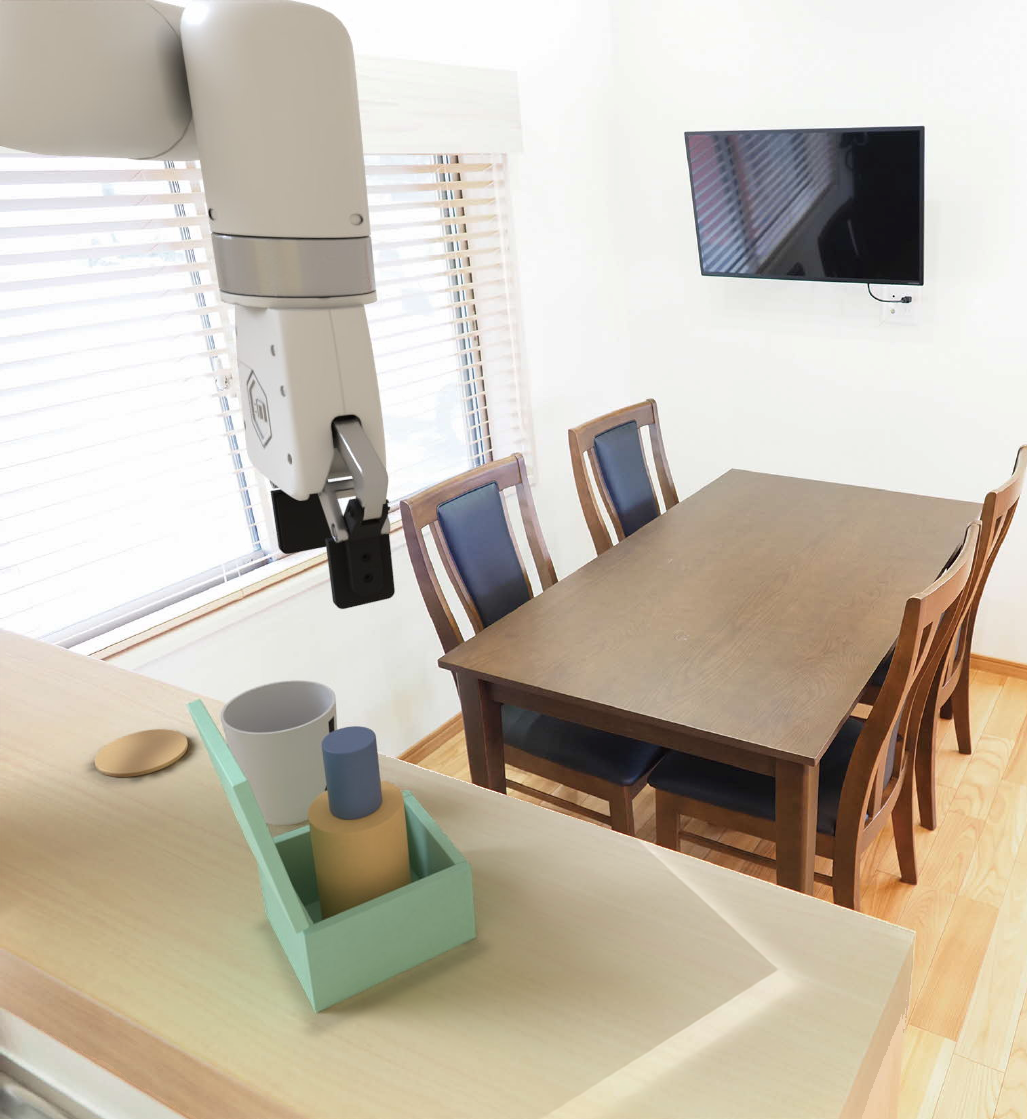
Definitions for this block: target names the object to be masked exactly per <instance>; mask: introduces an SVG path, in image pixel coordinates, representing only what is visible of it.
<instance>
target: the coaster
mask: <svg viewBox="0 0 1027 1119" xmlns="http://www.w3.org/2000/svg"><path fill="white" fill-rule="evenodd" d="M188 748H189V741H188V738H187V737H186V736H185V735H184V734H183V733H182V732H181V731H180V732H179V731H177V730H173V729H167V728H166V729H164V728H161V729H160V728H159V729H158V728H157V729H148V730H142V731H136V732H134V733H129V734H126V735H124V736H121V737H119V738H117V739H115V740H112V741H111V742H109V743H107V744H106V745H105V746H104V747H102V748H101V749H100V750H99V751H98V752H97V754H96V755H95V758H94V765H95V768H96V770H97V771H98V772H99V773H100V774H102V775H105V776H108V777H112V778H113V777H114V778H130V777H139V776H143V775H148V774H151V773H154V772H158V771H160V770H163V769H165V768H167V767H169V766H171V765H173V764H174V763H176V762H177V761H179V760H180V759H181V758H182V757H183V756H184V755H185V754H186V752H187V751H188Z"/></svg>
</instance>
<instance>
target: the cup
mask: <svg viewBox="0 0 1027 1119" xmlns="http://www.w3.org/2000/svg"><path fill="white" fill-rule="evenodd" d="M219 716H220V717H219V718H220V722H221V725H222V729H223V733H224V737H225V742H226V744H227V745H228V747H229V749H230V750H231V752H232V754H233V756H234V757H235V759H236V761H237V762H238V764H239V766H240V768H241V769H242V771H243V773H244V774H245V776H246V778H247V780H248V782H249V784H250V786H251V789H252V791H253V793H254V796H255V798H256V801H257V803H258V805H259V808H260V810H261V812H262V815H263V817H264V820H265V822H266V824H267V825H271V826H272V825H274V826H290V825H291V826H292V825H296V824H300V823H303V822H306V821H308V810H309V807H310V805H311V804H312V802H313V801H314V800H315V799H316V798H317V797H318V796H319V795H320V794H322V793H323V792H325V791H327V785H326V777H325V769H324V762H323V754H322V746H321V744H322V741H323V739H324V738H325V737H326V736H327V735H328V734H329V733H331V732H333V731H335V730H338V717H337V699H336V694H335V691H334V690H333V689H332V688H331V687H329V686H327V685H326V684H323V683H320V682H317V681H312V680H303V679H301V680H300V679H295V680H293V679H291V680H281V681H274V682H270V683H266V684H261V685H259V686H255V687H253V688H250V689H248V690H245V691H243V692H241V693H239V694H238V695H236V696H234V697H233V698H231V699H230V700H229V701H227V703H226V704H225V705H224V706H223V707H222V710H221V711H220V715H219Z"/></svg>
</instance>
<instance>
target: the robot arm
mask: <svg viewBox="0 0 1027 1119" xmlns="http://www.w3.org/2000/svg"><path fill="white" fill-rule="evenodd" d="M353 46H354V45H353V42H352V38H351V36H350V33H349V31H348V29H347V27H346V26H345V25H344V23H343V22H342V21H341V20H340V19H339V18H338V17H337V16H336V15H335V14H334V13H332V12H331V11H328V10H325V9H323V8H321V7H320V6H317V5H314V4H309V3H305V2H302V1H297V0H191V1H190V2H189V3H188V4H186V6H185V7H184V6H179V5H175V4H171V3H167V2H163V1H160V0H0V147H3V148H7V149H11V150H15V151H19V152H25V153H30V154H31V153H32V154H38V155H43V156H55V157H57V156H60V157H87V158H108V159H109V158H111V159H128V160H135V161H154V162H155V161H157V162H192V161H194V162H195V161H199V165H200V170H201V178H202V183H203V191H204V196H205V197H204V198H205V203H206V211H207V216H208V223H209V230H210V232H211V233H210V238H211V245H212V252H213V258H214V264H215V271H216V277H217V283H218V288H219V296H220V297H219V298H220V301H221V302H222V303H225V304H228V305H233V306H234V330H235V332H234V334H235V347H236V348H235V349H236V360H237V370H238V380H239V390H240V400H241V410H242V420H243V431H244V439H245V448H246V453H247V457H248V459H249V461H250V463H251V464H252V466H253V467H254V468H255V469H256V470H257V471H259V473H261V474H262V475H263V476H264V477H265V478H267V480H269V484H270V486H271V488H272V490H270V498H271V505H272V512H273V519H274V526H275V531H276V532H275V533H276V540H277V546H278V549H279V550H280V552H282V553H283V554H285V555H290V554H291V555H292V554H295V553H296V554H297V553H301V552H306V551H312V550H317V549H322V548H326V549H325V550H326V557H327V564H328V572H329V580H330V590H331V597H332V602H333V604H334V605H335V606H336V608H338V609H340V610H345V609H349V608H354V607H358V606H363V605H367V604H368V605H369V604H372V603H376V602H380V601H384V600H389V599H391V598H393V596H394V595H395V593H396V591H395V590H396V588H395V581H394V580H395V579H394V578H395V577H394V569H393V568H394V567H393V557H392V548H391V538H390V533H391V522H390V518H389V511H390V510H391V506H389V504H390V501H389V499H387V495H388V488H389V475H388V471H387V452H386V449H387V448H386V439H385V428H384V420H383V419H384V418H383V410H382V403H381V396H380V389H379V382H378V381H379V380H378V374H377V368H376V363H375V362H376V361H375V357H374V350H373V343H372V338H371V334H370V328H369V325H368V324H369V322H368V319H367V313H366V308H365V305H370V304H373V303H376V302H377V301H378V295H377V294H378V293H377V286H376V284H377V283H376V274H375V264H374V253H373V243H372V242H373V241H372V236H371V235H372V231H371V222H370V211H369V199H368V187H367V178H366V167H365V156H364V145H363V135H362V123H361V112H360V102H359V101H360V100H359V92H358V81H357V69H356V60H355V54H354V47H353ZM346 477H347V479H341V480H340V478H346ZM348 477H349V478H348ZM350 477H351V478H350ZM335 479H339V480H335ZM329 480H332V481H329ZM352 497H354V498H352ZM347 498H350V499H348V501H347V504H346V507H345V510H344V512H343V511H342V509H341V505H340V502H339V499H340V500H341V499H347Z"/></svg>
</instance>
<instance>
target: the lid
mask: <svg viewBox="0 0 1027 1119" xmlns="http://www.w3.org/2000/svg"><path fill="white" fill-rule="evenodd" d="M186 707H187V710H188V711H189V714H190V716H191V718H192V721H193V723H194V725H195V728H196V729H197V732H198V734H199V736H200V739H201V740H202V742H203V745H204V748H205V750H206V752H207V755H208V757H209V759H210V762H211V764H212V766H213V768H214V770H215V773H216V775H217V777H218V780H219V781H220V784H221V786H222V789H223V791H224V793H225V795H226V797H227V801H228V802H229V804H230V807H231V809H232V812H233V814H234V816H235V818H236V820H237V822H238V825H239V827H240V829H241V832H242V833H243V836H244V838H245V841H246V843H247V845H248V846H249V849H250V850H251V852H252V854H253V857H254V858H255V859H256V863H257V862H258V863H259V865H260V867H261V869H262V871H263V873H264V875H265V877H266V878H267V880H268V882H269V884H270V886H271V888H272V890H273V892H274V894H275V895H276V897H277V899H278V901H279V903H280V905H281V907H282V909H283V910H284V912H285V914H286V916H287V918H288V920H289V922H290V924H291V925H292V927H293V929H294V931H295V933H296V934H298V933H300V932H302V931H303V930H305V929H307V928H308V927H309V924H308V921H307V919H306V917H305V914H304V912H303V909H302V907H301V905H300V902H299V900H298V898H297V895H296V893H295V891H294V888H293V886H292V883H291V881H290V879H289V876H288V874H287V872H286V869H285V867H284V865H283V862H282V860H281V857H280V855H279V853H278V850H277V848H276V846H275V843H274V841H273V836H272V834H271V831H270V829H269V826H268V823H266V822H265V820H264V817H263V815H262V812H261V810H260V808H259V805H258V803H257V801H256V798H255V796H254V793H253V791H252V789H251V786H250V784H249V782H248V780H247V778H246V776H245V774H244V773H243V771H242V769H241V768H240V766H239V764H238V762H237V761H236V759H235V757H234V756H233V754H232V752H231V750H230V749H229V747H228V745H227V741H226V739H225V738H224V736H223V735H222V733H221V731H220V730H219V728H218V726H217V725H216V723H215V721H214V720H213V717H212V716H211V715H210V713H209V711H208V709H207V708H206V705H205V704H204V702H203V700H202V699H201V698H198V699H195V700H193V701H190V702H188V703H187V704H186Z"/></svg>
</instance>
